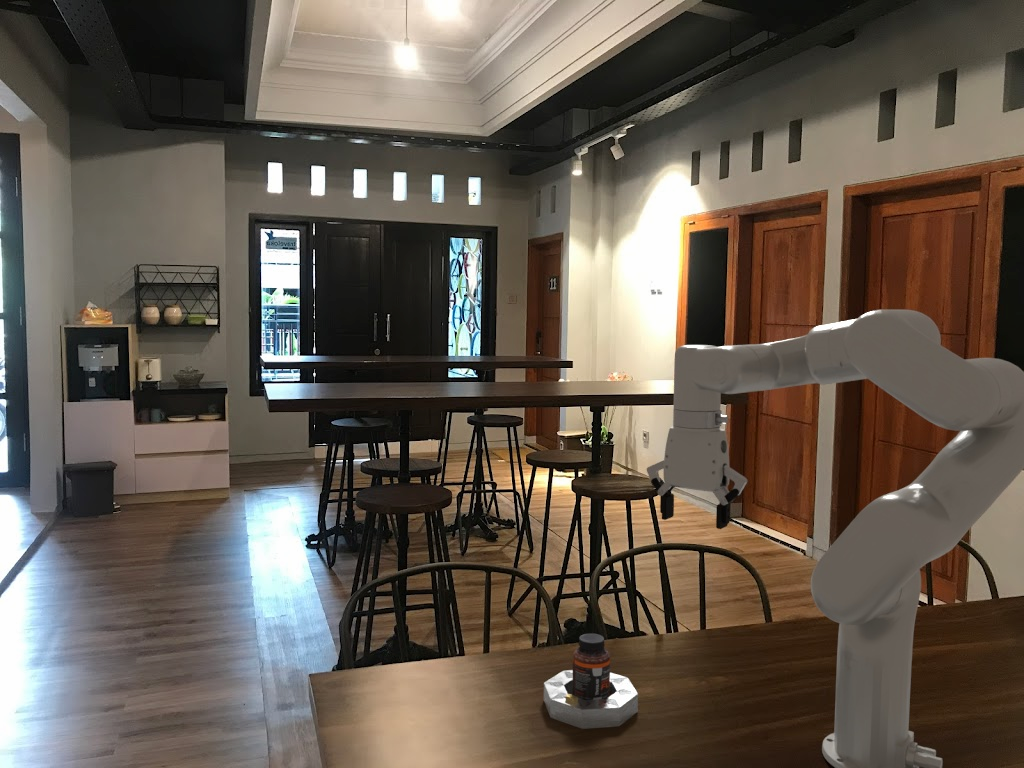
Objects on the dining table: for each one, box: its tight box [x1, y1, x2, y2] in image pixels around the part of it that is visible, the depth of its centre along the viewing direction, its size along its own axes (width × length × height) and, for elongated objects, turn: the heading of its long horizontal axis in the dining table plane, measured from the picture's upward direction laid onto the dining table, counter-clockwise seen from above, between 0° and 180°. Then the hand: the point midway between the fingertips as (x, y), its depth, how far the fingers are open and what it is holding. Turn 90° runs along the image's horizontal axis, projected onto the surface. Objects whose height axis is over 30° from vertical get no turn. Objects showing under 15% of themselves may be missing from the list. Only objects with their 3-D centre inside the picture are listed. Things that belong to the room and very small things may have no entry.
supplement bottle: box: [572, 633, 611, 700], centre depth 133 cm, size 6×6×11 cm
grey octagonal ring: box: [543, 669, 639, 730], centre depth 133 cm, size 14×14×4 cm
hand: (694, 522), depth 138 cm, fingers open, 9 cm apart
